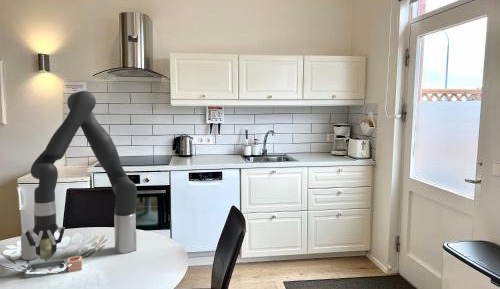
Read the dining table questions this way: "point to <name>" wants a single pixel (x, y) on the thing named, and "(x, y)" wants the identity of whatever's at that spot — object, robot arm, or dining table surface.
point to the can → (28, 247)
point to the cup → (75, 263)
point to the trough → (45, 264)
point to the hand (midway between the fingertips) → (46, 253)
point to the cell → (46, 248)
